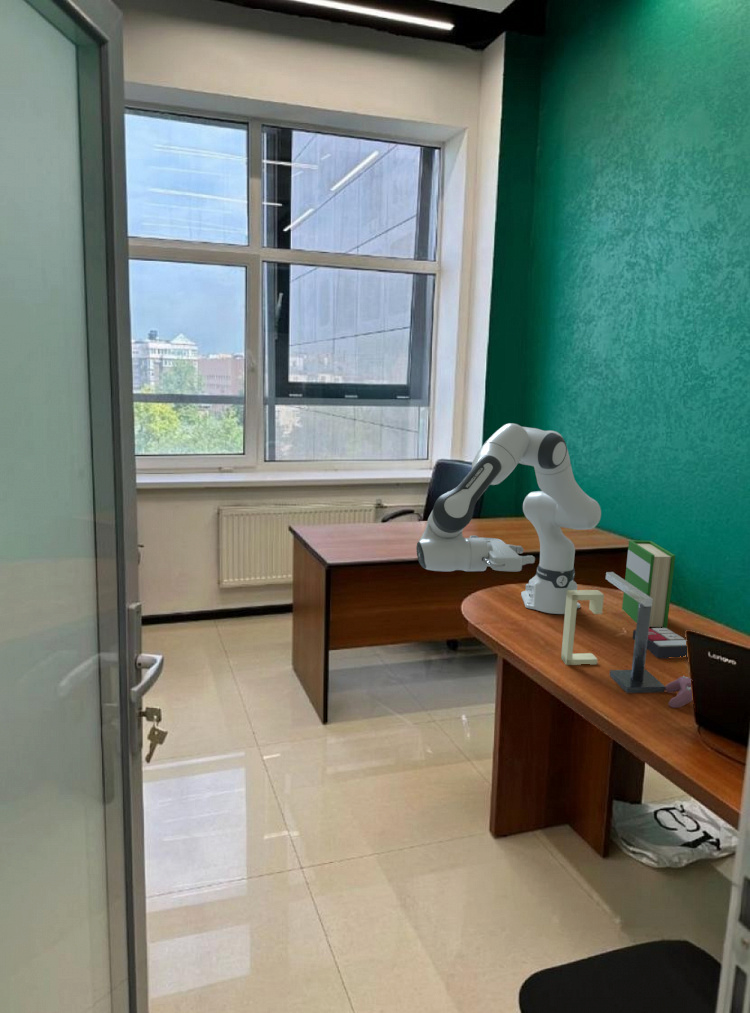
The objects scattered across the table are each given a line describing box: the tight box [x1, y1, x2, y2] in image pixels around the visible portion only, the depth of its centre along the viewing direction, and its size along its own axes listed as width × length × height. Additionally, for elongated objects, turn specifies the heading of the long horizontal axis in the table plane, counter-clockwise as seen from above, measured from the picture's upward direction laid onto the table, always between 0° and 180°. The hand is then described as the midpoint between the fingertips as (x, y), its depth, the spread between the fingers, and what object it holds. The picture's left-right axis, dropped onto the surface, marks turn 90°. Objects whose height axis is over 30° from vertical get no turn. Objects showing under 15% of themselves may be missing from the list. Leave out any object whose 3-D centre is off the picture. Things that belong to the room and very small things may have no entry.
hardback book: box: [621, 540, 676, 629], centre depth 224 cm, size 18×7×24 cm, turn 2°
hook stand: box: [605, 571, 666, 694], centre depth 186 cm, size 26×10×24 cm, turn 6°
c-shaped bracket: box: [560, 589, 605, 666], centre depth 191 cm, size 4×9×20 cm, turn 96°
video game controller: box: [664, 675, 693, 709], centre depth 171 cm, size 10×5×7 cm, turn 164°
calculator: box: [632, 627, 687, 659], centre depth 204 cm, size 11×4×15 cm
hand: (528, 554), depth 188 cm, fingers open, 8 cm apart
